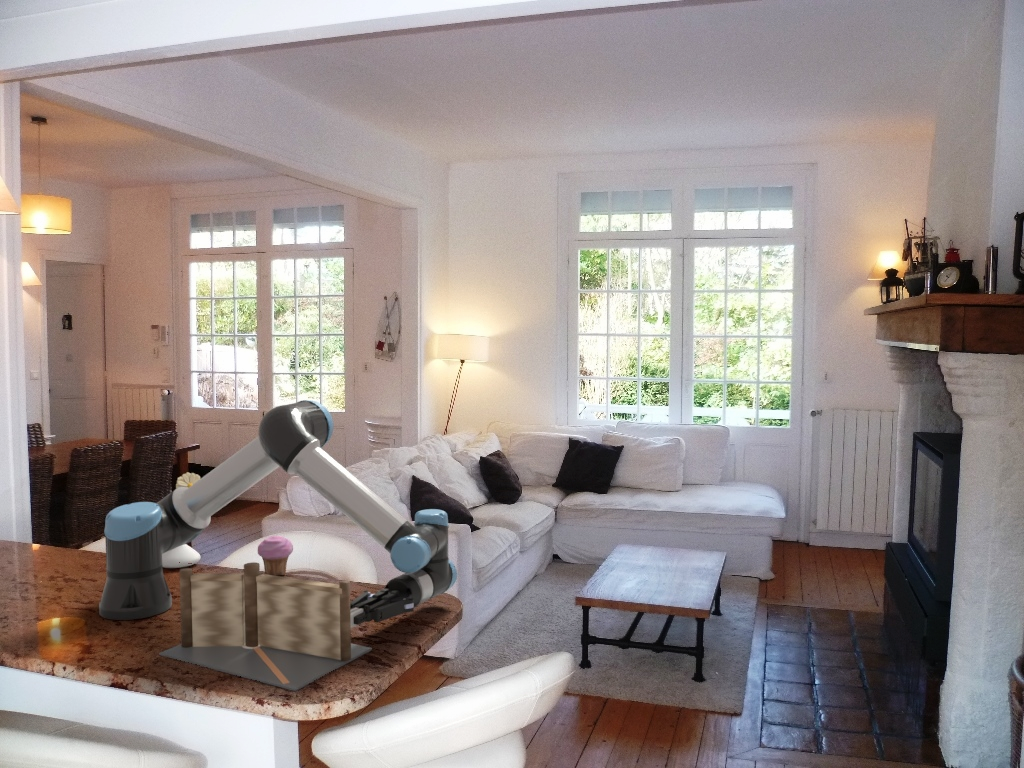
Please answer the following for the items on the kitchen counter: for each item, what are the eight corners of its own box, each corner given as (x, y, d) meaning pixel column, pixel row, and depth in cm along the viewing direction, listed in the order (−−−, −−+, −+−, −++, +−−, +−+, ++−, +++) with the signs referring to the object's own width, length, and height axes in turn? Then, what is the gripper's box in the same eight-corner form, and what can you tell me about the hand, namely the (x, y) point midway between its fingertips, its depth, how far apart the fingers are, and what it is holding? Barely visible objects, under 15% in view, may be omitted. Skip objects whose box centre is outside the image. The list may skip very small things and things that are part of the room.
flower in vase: (155, 573, 224) (153, 478, 223) (154, 562, 235) (152, 471, 233) (209, 568, 230) (206, 474, 228) (205, 557, 240) (203, 468, 238)
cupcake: (257, 580, 219) (256, 541, 218) (258, 570, 227) (257, 533, 227) (294, 577, 221) (293, 538, 221) (293, 568, 230) (292, 531, 229)
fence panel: (257, 645, 172) (255, 571, 171) (263, 642, 174) (262, 569, 173) (347, 661, 164) (346, 584, 163) (353, 657, 166) (352, 581, 165)
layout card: (159, 654, 170) (159, 652, 170) (243, 620, 189) (243, 618, 189) (295, 691, 153) (295, 688, 153) (372, 649, 172) (371, 647, 172)
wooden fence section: (179, 648, 172) (177, 567, 171) (184, 642, 175) (182, 562, 174) (258, 647, 173) (257, 566, 171) (262, 641, 176) (261, 562, 174)
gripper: (434, 612, 185) (367, 649, 164) (382, 603, 191) (311, 638, 170) (434, 578, 185) (366, 611, 164) (382, 570, 191) (311, 600, 170)
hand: (338, 624), depth 167 cm, fingers closed
